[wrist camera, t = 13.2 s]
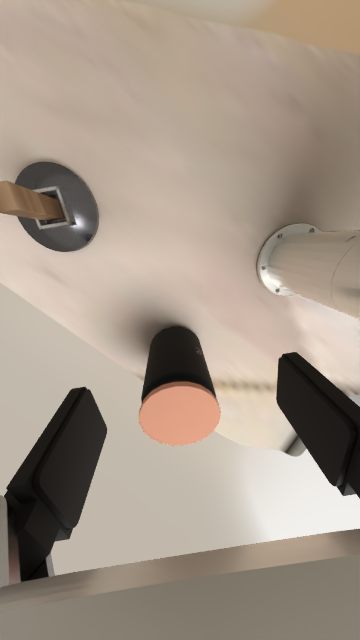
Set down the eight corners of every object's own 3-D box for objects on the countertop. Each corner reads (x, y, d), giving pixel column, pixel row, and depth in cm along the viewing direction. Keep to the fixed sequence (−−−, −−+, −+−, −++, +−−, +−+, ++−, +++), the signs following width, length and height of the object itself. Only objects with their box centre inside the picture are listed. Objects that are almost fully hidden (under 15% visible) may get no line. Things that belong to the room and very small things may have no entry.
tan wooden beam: (58, 200, 29) (5, 180, 19) (64, 218, 30) (17, 208, 20) (42, 202, 29) (-18, 184, 19) (49, 221, 30) (-5, 212, 20)
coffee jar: (193, 369, 44) (209, 448, 27) (147, 363, 42) (133, 442, 26) (205, 328, 40) (231, 391, 23) (154, 320, 38) (143, 380, 22)
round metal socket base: (83, 158, 28) (73, 148, 25) (108, 245, 32) (102, 245, 29) (3, 172, 28) (-16, 164, 25) (39, 256, 33) (27, 258, 30)
